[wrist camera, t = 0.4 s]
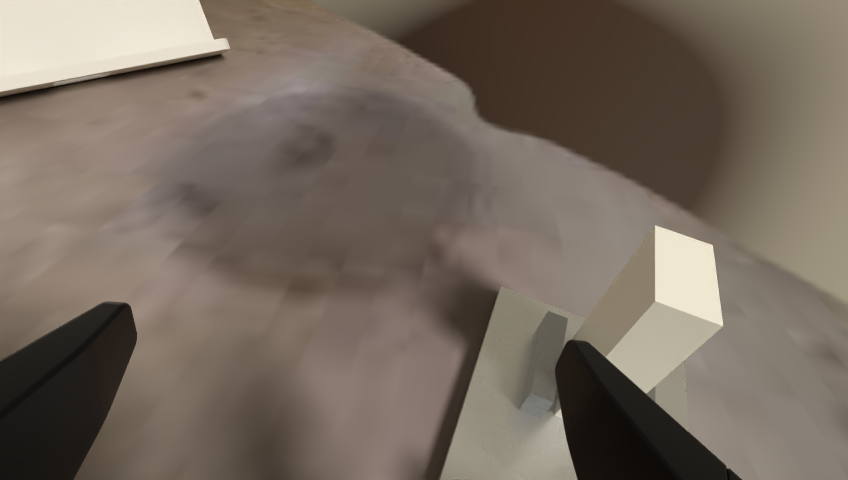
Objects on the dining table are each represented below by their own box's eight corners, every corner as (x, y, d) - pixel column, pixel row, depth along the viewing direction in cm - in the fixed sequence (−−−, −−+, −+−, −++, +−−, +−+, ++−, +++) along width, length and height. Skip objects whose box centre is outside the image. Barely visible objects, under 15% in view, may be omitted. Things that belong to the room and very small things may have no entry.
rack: (691, 804, 17) (747, 824, 14) (384, 649, 18) (392, 645, 16) (675, 363, 30) (703, 339, 27) (496, 295, 31) (509, 266, 29)
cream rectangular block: (600, 434, 24) (723, 326, 17) (554, 415, 25) (655, 301, 17) (606, 363, 28) (712, 245, 20) (565, 347, 28) (655, 225, 20)
